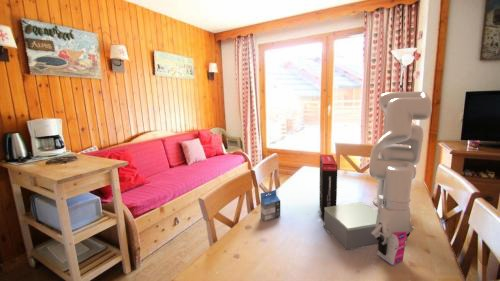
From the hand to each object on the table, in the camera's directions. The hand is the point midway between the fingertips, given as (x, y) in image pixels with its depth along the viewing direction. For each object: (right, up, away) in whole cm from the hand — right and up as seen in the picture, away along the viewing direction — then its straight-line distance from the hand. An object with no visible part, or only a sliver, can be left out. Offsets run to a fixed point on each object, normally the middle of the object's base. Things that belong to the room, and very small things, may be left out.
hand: (390, 250), depth 83 cm
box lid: (-6, +8, +14) cm, 17 cm away
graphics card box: (-11, +3, +35) cm, 36 cm away
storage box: (-6, 0, +15) cm, 17 cm away
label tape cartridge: (-39, +1, +31) cm, 50 cm away
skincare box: (+11, +1, +24) cm, 27 cm away
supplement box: (0, -3, +1) cm, 3 cm away
